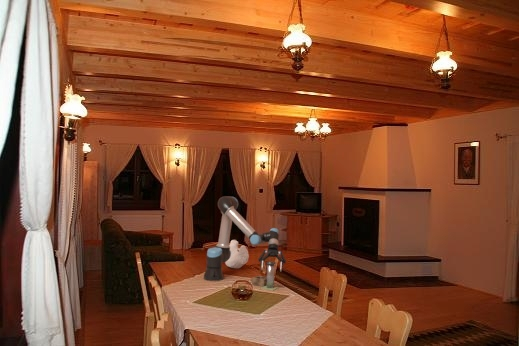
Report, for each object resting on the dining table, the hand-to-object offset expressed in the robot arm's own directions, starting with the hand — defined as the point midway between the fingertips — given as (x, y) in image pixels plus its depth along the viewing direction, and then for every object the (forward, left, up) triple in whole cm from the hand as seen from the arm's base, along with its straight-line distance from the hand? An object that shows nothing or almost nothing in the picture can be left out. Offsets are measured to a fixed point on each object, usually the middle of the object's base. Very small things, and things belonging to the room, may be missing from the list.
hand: (271, 269), depth 295 cm
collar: (-11, +6, -13) cm, 18 cm away
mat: (0, -1, -13) cm, 13 cm away
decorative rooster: (-58, +47, -13) cm, 76 cm away
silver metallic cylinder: (0, -1, -12) cm, 12 cm away
